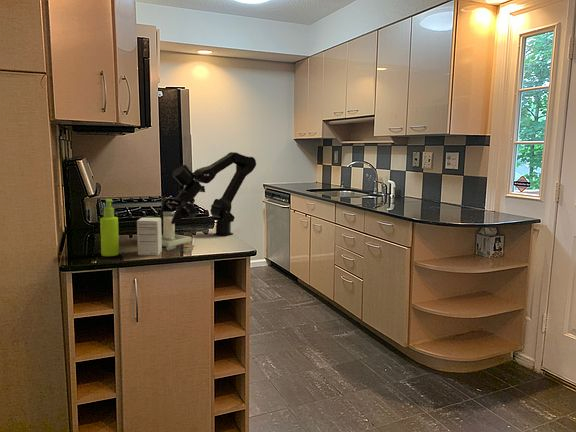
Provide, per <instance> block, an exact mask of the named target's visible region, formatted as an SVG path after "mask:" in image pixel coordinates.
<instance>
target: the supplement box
mask: <svg viewBox="0 0 576 432" xmlns="http://www.w3.org/2000/svg"><path fill="white" fill-rule="evenodd" d="M161 235H162V221H161V218H159V217H140V218H139V219H137V220H136V236H137V242H136V243H137V256H159V255H160V253H161V252H162V251H163V248H162V247H163V246H162V237H161Z"/></svg>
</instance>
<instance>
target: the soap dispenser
mask: <svg viewBox="0 0 576 432" xmlns="http://www.w3.org/2000/svg"><path fill="white" fill-rule="evenodd" d="M104 200H105V207H103V216H102V217H100V218H99V223H100V225H99V227H100V228H99V229H100V252H101V253H100V254H101V256H102V257H115V256H118V255H119V254H120V240H119V217H117V216H115V207H113V206H112V203H113V199H112V198H105V199H104Z"/></svg>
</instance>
